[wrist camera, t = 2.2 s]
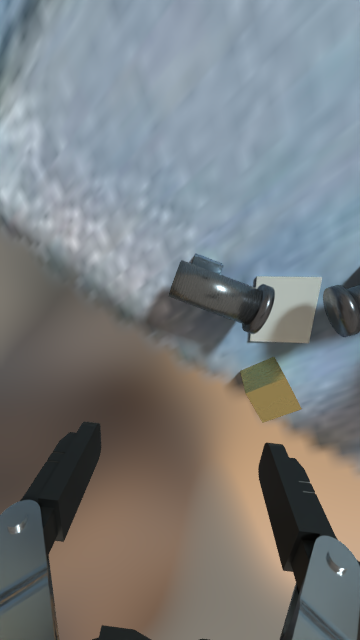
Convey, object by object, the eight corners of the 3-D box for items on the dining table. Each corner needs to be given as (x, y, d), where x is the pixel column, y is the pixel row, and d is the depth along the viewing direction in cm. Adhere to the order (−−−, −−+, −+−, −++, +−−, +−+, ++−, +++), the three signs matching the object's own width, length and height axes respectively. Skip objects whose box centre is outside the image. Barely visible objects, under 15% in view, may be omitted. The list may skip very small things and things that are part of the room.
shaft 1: (172, 291, 27) (163, 308, 21) (186, 250, 25) (181, 256, 20) (244, 317, 28) (254, 342, 22) (263, 279, 26) (280, 294, 20)
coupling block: (274, 356, 29) (285, 377, 25) (288, 384, 30) (301, 409, 26) (240, 370, 30) (245, 393, 26) (255, 396, 31) (262, 422, 27)
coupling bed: (320, 277, 25) (322, 277, 25) (307, 342, 28) (308, 343, 28) (256, 276, 26) (257, 276, 25) (249, 340, 28) (250, 341, 28)
